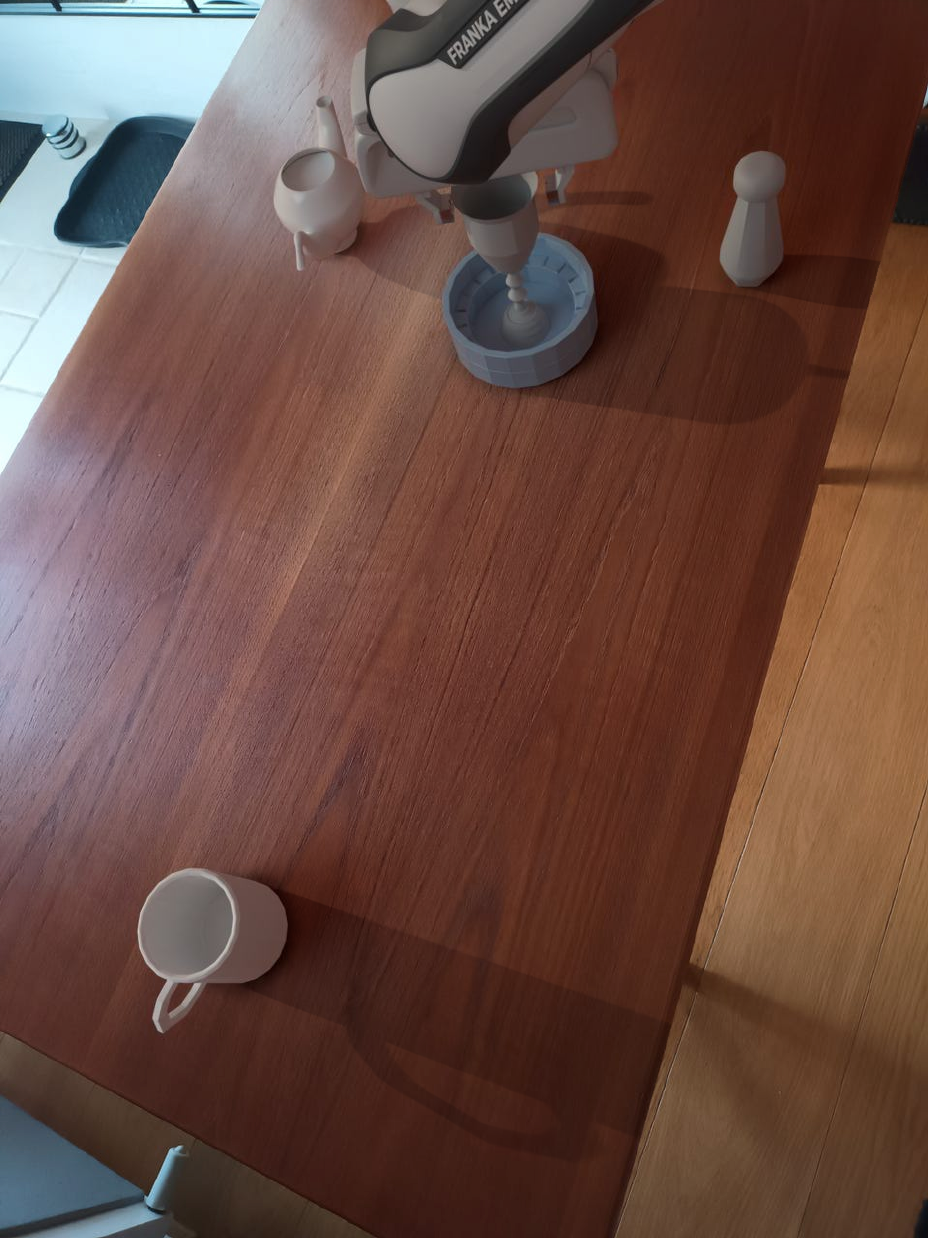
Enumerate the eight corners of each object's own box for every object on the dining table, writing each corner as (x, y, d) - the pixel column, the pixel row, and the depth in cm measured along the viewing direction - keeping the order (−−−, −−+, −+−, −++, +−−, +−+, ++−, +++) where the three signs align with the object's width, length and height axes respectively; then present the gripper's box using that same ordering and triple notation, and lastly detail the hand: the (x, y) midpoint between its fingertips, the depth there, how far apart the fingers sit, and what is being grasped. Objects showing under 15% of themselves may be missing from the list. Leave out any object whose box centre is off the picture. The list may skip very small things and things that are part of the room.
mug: (161, 1008, 78) (94, 1012, 69) (221, 867, 82) (165, 853, 72) (244, 1048, 76) (186, 1056, 67) (303, 900, 79) (255, 890, 70)
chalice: (481, 352, 94) (441, 218, 78) (496, 295, 96) (460, 153, 80) (554, 357, 92) (528, 221, 76) (567, 300, 94) (545, 155, 78)
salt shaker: (775, 241, 93) (790, 131, 81) (786, 288, 90) (803, 182, 79) (713, 252, 94) (720, 146, 82) (723, 299, 91) (731, 197, 80)
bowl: (592, 260, 96) (588, 220, 91) (603, 380, 91) (599, 344, 86) (453, 282, 99) (441, 244, 94) (455, 400, 94) (443, 367, 89)
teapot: (279, 312, 102) (243, 251, 94) (312, 167, 109) (282, 98, 100) (364, 310, 100) (335, 247, 91) (393, 162, 106) (368, 90, 98)
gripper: (611, 0, 67) (622, 157, 79) (333, 59, 71) (386, 200, 83) (618, 65, 64) (628, 216, 77) (330, 122, 68) (385, 257, 81)
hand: (501, 208), depth 80 cm, fingers open, 8 cm apart
